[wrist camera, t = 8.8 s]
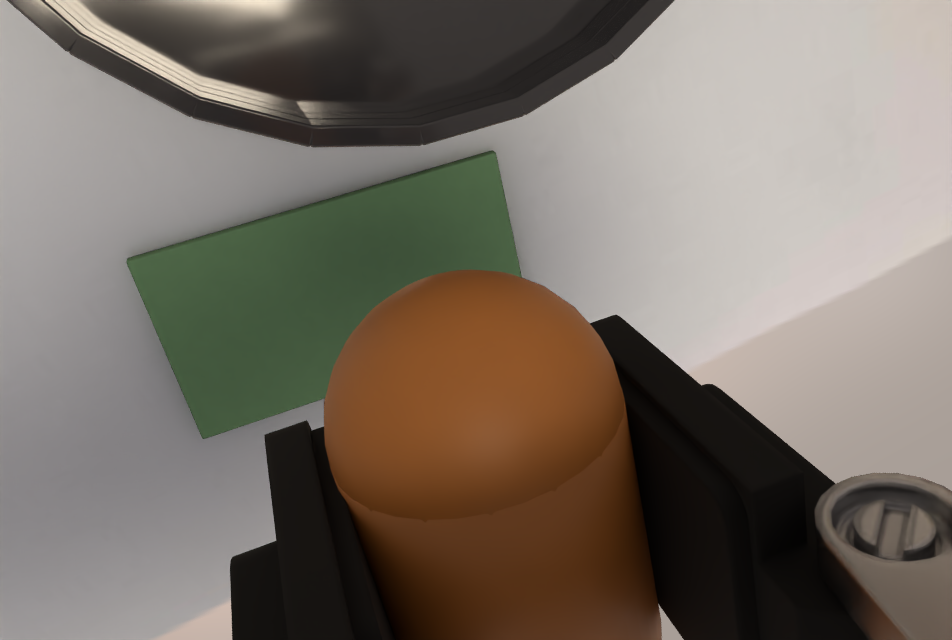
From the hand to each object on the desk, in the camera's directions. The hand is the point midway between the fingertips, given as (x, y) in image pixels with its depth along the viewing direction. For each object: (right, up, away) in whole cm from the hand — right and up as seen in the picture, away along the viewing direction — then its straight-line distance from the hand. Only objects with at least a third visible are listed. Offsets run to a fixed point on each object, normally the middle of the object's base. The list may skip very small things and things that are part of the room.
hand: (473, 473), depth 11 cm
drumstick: (0, -1, +1) cm, 2 cm away
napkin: (-4, +3, +13) cm, 13 cm away
